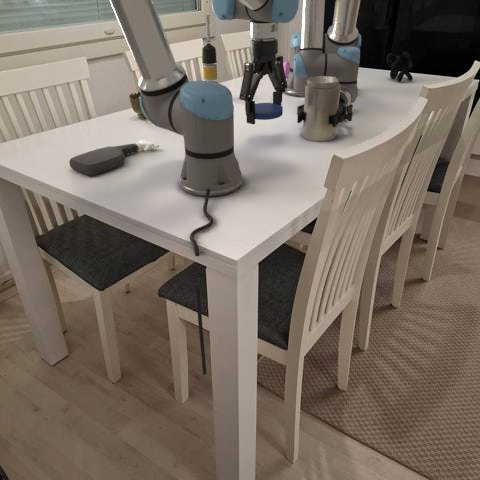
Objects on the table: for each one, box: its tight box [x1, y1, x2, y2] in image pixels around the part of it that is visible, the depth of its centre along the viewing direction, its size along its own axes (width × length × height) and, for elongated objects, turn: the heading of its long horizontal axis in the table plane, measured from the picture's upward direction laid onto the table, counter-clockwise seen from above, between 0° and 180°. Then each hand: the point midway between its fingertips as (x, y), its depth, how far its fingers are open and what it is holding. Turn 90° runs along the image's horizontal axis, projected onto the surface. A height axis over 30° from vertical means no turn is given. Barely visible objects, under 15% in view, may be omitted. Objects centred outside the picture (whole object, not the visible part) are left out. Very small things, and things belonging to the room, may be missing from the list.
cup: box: [128, 91, 147, 119], centre depth 156 cm, size 8×7×8 cm
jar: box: [301, 76, 341, 142], centre depth 135 cm, size 10×10×17 cm
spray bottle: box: [68, 139, 160, 177], centre depth 124 cm, size 3×11×24 cm
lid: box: [245, 102, 284, 121], centre depth 132 cm, size 11×11×2 cm
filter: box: [201, 14, 219, 83], centre depth 171 cm, size 6×6×30 cm
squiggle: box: [385, 51, 414, 83], centre depth 198 cm, size 11×10×15 cm
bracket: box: [283, 60, 290, 79], centre depth 212 cm, size 13×6×7 cm, turn 143°
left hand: (264, 118), depth 133 cm, fingers closed on lid, 11 cm apart
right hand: (316, 120), depth 133 cm, fingers closed on jar, 10 cm apart
